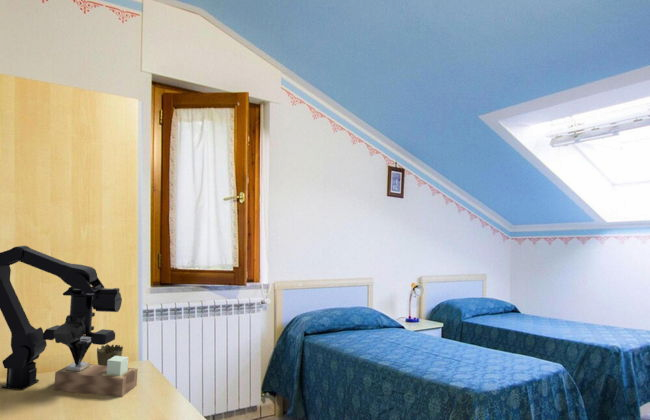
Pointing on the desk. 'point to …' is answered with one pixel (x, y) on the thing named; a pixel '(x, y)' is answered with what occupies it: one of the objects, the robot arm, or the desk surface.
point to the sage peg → (117, 365)
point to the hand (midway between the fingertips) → (77, 364)
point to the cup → (108, 353)
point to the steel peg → (78, 367)
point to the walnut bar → (95, 381)
